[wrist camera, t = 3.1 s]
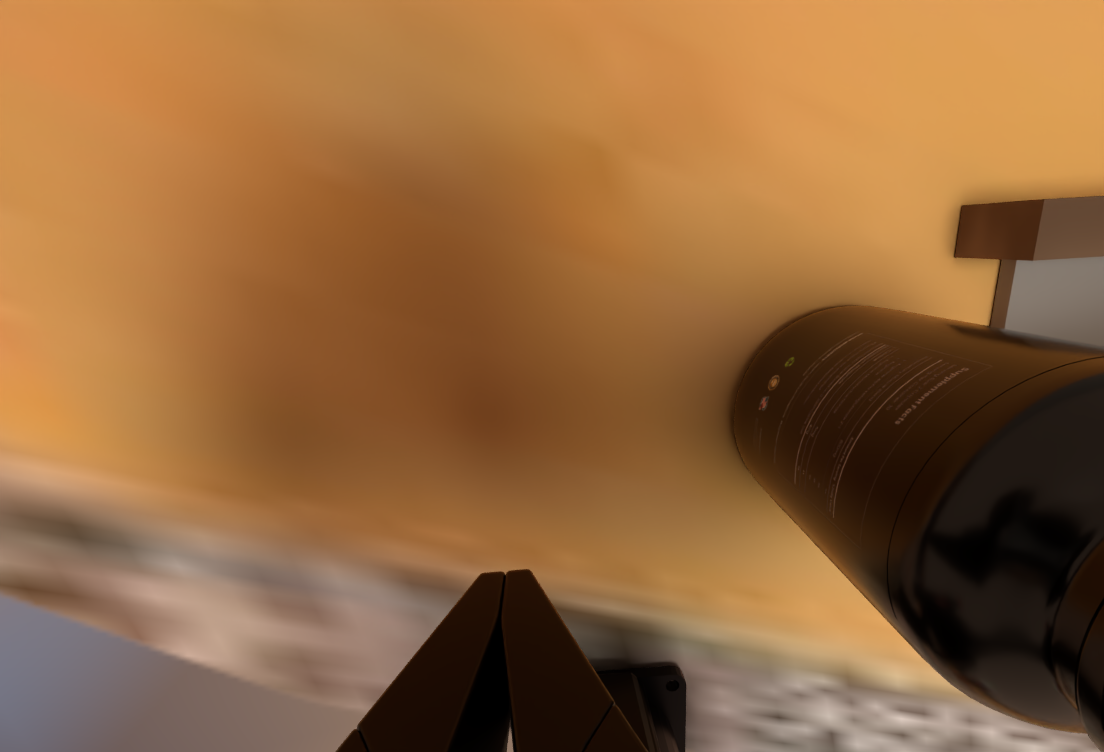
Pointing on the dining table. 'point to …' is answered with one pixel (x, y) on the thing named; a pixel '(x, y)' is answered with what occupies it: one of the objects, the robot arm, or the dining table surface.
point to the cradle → (1042, 264)
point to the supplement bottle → (949, 492)
